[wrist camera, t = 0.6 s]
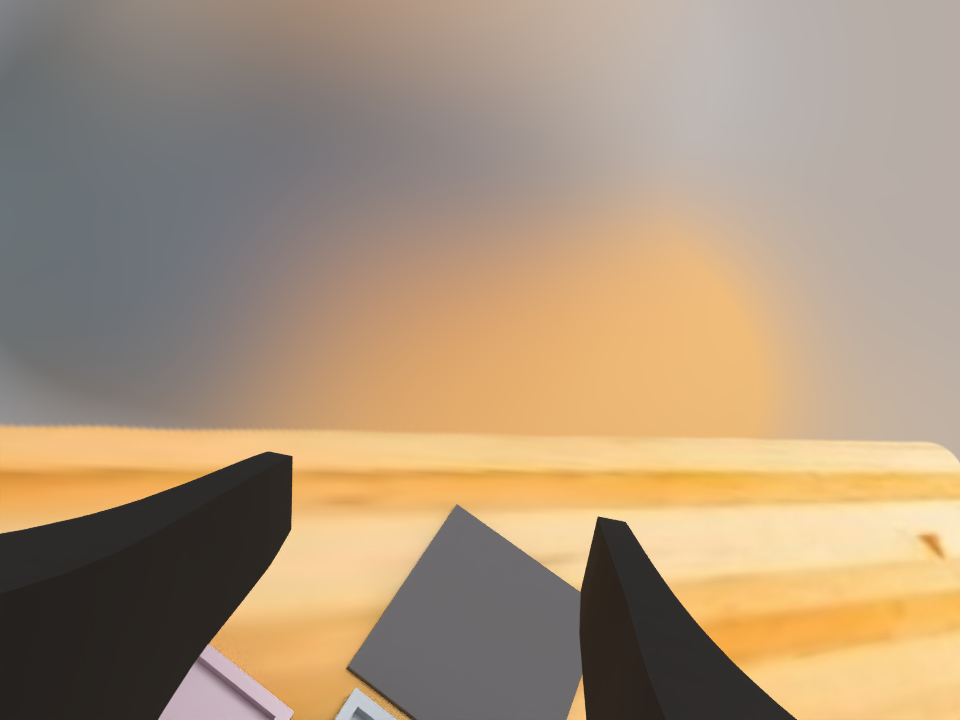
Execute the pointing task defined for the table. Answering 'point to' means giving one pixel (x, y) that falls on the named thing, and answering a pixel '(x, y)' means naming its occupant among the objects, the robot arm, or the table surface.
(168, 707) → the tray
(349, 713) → the tray mid
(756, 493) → the table surface
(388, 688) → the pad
